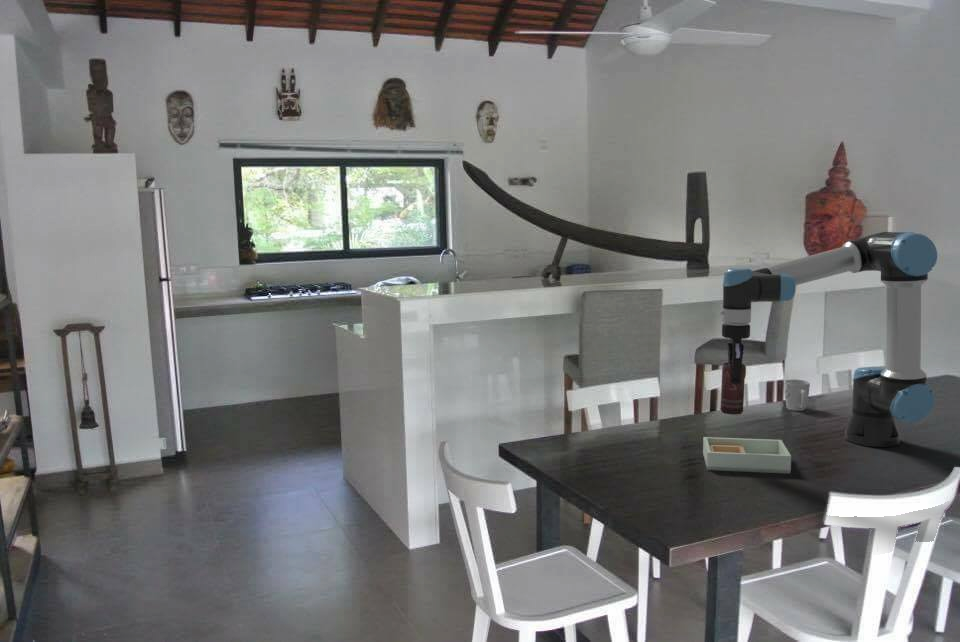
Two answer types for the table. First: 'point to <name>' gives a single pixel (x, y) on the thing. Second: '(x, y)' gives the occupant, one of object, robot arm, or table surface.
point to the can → (732, 391)
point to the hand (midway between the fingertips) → (733, 405)
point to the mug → (796, 394)
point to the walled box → (746, 455)
